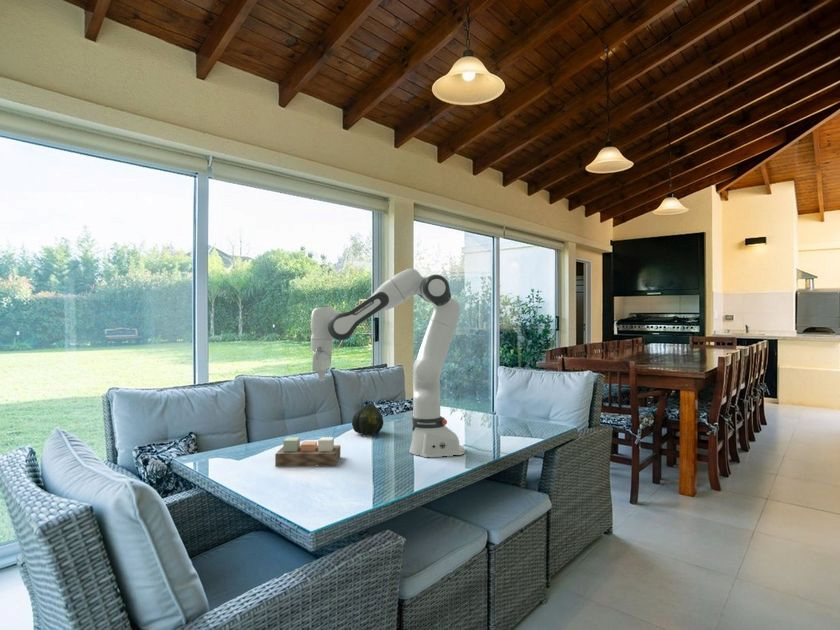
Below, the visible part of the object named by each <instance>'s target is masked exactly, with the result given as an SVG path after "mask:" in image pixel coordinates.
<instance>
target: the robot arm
mask: <svg viewBox="0 0 840 630" xmlns="http://www.w3.org/2000/svg"><path fill="white" fill-rule="evenodd" d="M416 295H418V296H419V297H420V298H422V300H424V301H426V302H427V303H432V304H431V305H432V307H433V309H432V313H431V316H430V318H429V319H430V320H429V322H428V325H427V327H426V330H425V332H424V336H423V339H422V342H421V345H420V348H419V351H418V354H417V356H416V359H415V360H414V362H413V366H412V377H413V378H412V383H413V384H412V385H413V386H412V394H413V395H412V396H413V397H412V400H413V402H412V405H413V406H412V408H413V409H412V413H413V414H412V415H413V416H412V419H411V431H412V436H411V443H410V447H409V450H408V451H409V453H410V454H412V455H415V456H419V455H420V457H424V458H425V459H428V458H427V457H430V458H443V457H442V456H447V457H454V456H453V455H462V454H464V453H465V454H466V449H465V447H464V446H462V445H460V440H459V437H458V435H457V434H456V433H455V432H453V430H451V429H450V427H447V426H446V425H447V424H448V421H447V419H446V418H445V417H444V416H441V386H440V385H441V383H440V382H441V381H440V377H441V373H442V372H443V367H444V365H445V362H446V358H447V355H448V352H449V349H450V346H451V342H452V340H453V338H454V334H455V331H456V329H457V326H458V322H459V318H460V314H461V306H460V303H459V301H457V300H456V299H454V298H452V294H451V287H450V283H449V281H448V280H447V279H446V277H445V276H442V275H441V274H431V275H428V276H427V277H424V276H422V274H421V273H420V272H419V271H418V270H417V269H415V268H412V267H411V268H407V269H405V270H402V271H400V272H398V273H395V274H394V275H392V276H391V277H390V278H388V279H387V280H385V281H384V282H383V283H382V284H380V285H379V286H378V287H377V289H376V290H375V291H374V292H373V293H372V294H371V295H370V296H369V297H368V298H367V299H365V300H364V301H363V302H361V303H360V304H358V305H357V306H355V307H353V308H352V309H350V310H349V311H346V312H341V311H339V310H337V309H335V308H333V307H332V306H331V305H322V306H318V307H315V308H314V309H313V310H312V312H311V317H310V331H311V337H310V352H313V354H312V364H311V365H312V366H311V367H312V372H314V373H317V374H318V381H319V382H321V383H322V382H324V381H326V378H325V376H326V370H328V369H329V368H331V364H332V354H333V351H334V339H335V340H338V341H345V340H347V339H349V338H351V336H353V335H354V334H355V332H356V330H357V327H359V325H361V324H362V323H364V322H365V321H366V320H368V319H370V318H371V317H373V316H374V315H376V314H377V313H379V312H383V311H387V310H390V309H393V308H396V307H398V306H400V305H401V304H403V303H404V302H406V301H407V300H409V299H410V298H411V297H413V296H416ZM465 454H464V455H465ZM462 456H463V455H462Z"/></svg>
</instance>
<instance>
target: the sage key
mask: <svg viewBox="0 0 840 630" xmlns="http://www.w3.org/2000/svg"><path fill="white" fill-rule="evenodd" d="M282 441H283V443H282V444H283V445H282V447H283V452H293V451H298V450H299V449H300V446H301V437H293V436H289V437H286V438H285V439H283V440H282Z"/></svg>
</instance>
